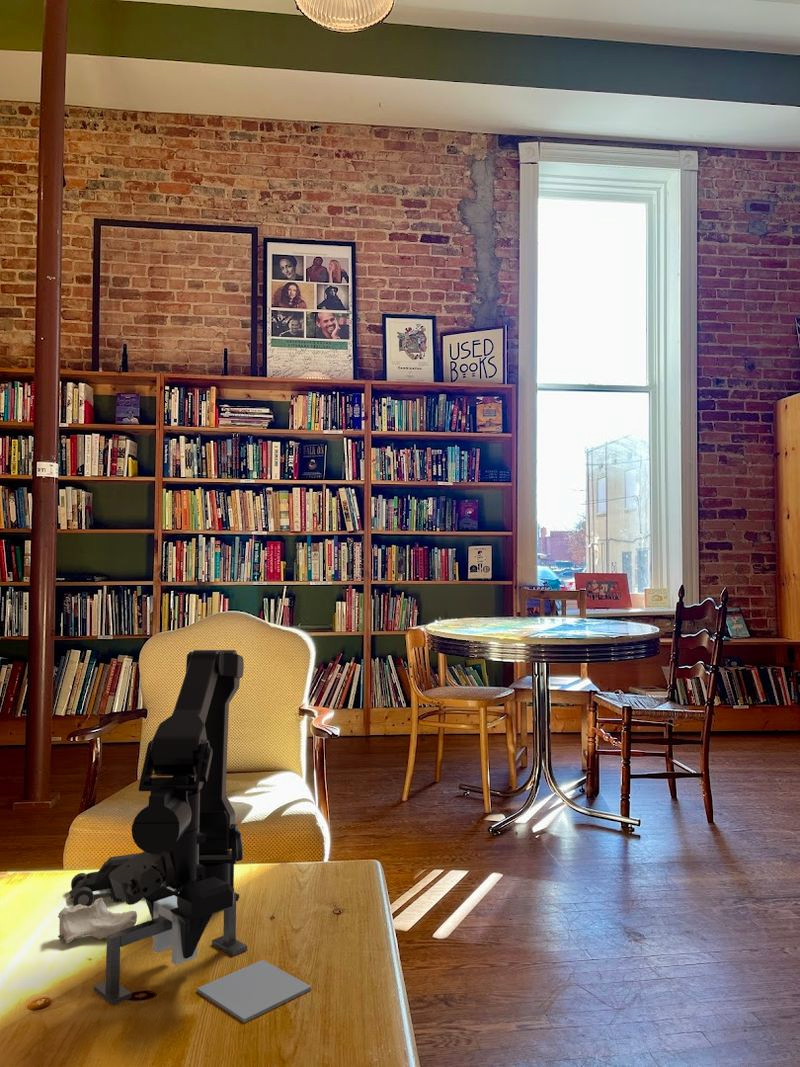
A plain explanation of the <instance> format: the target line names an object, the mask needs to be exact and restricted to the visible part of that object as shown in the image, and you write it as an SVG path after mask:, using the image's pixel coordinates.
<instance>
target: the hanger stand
mask: <svg viewBox="0 0 800 1067" xmlns="http://www.w3.org/2000/svg"><path fill="white" fill-rule="evenodd" d="M220 912H223V935H221V936H219V937H216V938H214V939H212V940H211V945H212V946H214V947H216V948H217V949H220V951H222V952H225V953H226V954H228V955H230V957H234V956H236V955H238V954H241V953H244V952H246V951H248V945H247V944H245V943H243V942H241V941H239V940H237V938H236V937H237V934H236V933H237V932H236V931H237V899H236V895H235V894H234V905H233V906H232V907H229V908H226V909H223V910H221V911H218V912H215V913H213V915H215V914H218V913H220ZM171 929H172V921H170V920H168V919H166V918H165V917H163V916H162V917H159V918H156V919H153V920H152V919H150V920H147V921H145V922H141V923H138V924H135V925H134V926H132V927H129V928H126V929H124V930H121V931H118V932H116V933H113V934H110V935H107V938H106V950H105V951H106V955H105V956H106V957H105V981H102V982H100V983H97V984H95V985H93V992H94V993H96V994H97V995H98V996H100V997H101V998H102V999H103V1000H105V1001H106V1002H107V1003H108V1004H110V1005H111V1006H116V1005H119V1004H120V1003H122V1002H125V1001H127V1000H130V999H132V992H131V991H130V990H128V989H127V988H126V987H124V986H123V985H122V984H121V983H120V980H121V979H120V978H121V976H120V974H121V948H123V947H125V946H129V945H131V944H134V943H137V942H140V941H143V940H145V939H148V938H152V937H153V936H154V935H157V934H159V933H162V932H165V931H168V930H171Z"/></svg>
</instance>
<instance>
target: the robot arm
mask: <svg viewBox="0 0 800 1067" xmlns="http://www.w3.org/2000/svg"><path fill="white" fill-rule="evenodd" d="M185 662H186V664H185V675H184V678H183V682H182V684H181V687H180V690H179V693H178V697H177V700H176V702H175V705H174V709H173V712H172V713H171V715H170V716H169V717H167V718H166V719H165V720H163V721H161V722H160V723H159V724H158V727H157V728H156V731H155V733H154V735H153V738H152V739H151V740H150V741H149V742H148V744H147V747H146V753H145V756H144V761H143V766H142V771H141V776H140V781H139V785H138V792H150V795H149V797H148V803H147V804H146V805H145V806H144V807H143V808H141V810H140V811H139V812H138V813H137V814H136V816H135V817H134V819H133V822H132V825H131V837H132V839H133V841H134V843H135V844H136V846H137V847H138V848H139V849H140V850H141V851H142V852H140V853H141V854H139V855H136V856H134V857H132V858H129V859H128V860H127V861H126V862H125V863H123V864H122V865H120V866H119V867H117V868H116V869H114V870H113V871H112V872H111V873H110V874H109V878H110V881H111V884H112V887H113V889H114V892H115V895H116V898H118V899H119V898H120V899H121V900H123V902H125V904H127V905H130V906H131V905H133V906H134V905H135V904H138V903H139V902H140V901H142V900H143V899H144V901H145V902H146V905H147V908H148V911H149V914H150V917H151V920H153V909H154V902H155V901H158V900H161V899H164V898H167V897H170V896H173V895H174V896H176V897H177V906H178V907H177V908H175V909H172V910H170V911H171V912H172V913H173V914H174V915H175V916H176V917H178V918H179V920H180V929H181V942H182V951H183V957H184V958H185V959H187V958H189V957H191V956H192V955H193V953H194V951H195V949H196V947H197V948H198V944H199V942H200V941H201V938H202V936H203V934H204V931H205V929H206V927H207V926H208V923H209V922H210V920H211V918H212V916H213V915H214V914H213V913H215V912H218V911H221V910H223V909H226V908H229V907H232V906H233V905H234V894H235V895H236V900H238V899H240V894H239V893H237V892H235V886H234V884H235V883H234V882H235V874H234V873H235V865H236V864H237V862H241V861H243V859H244V845H243V844H244V843H243V838H242V837H243V836H242V833H241V832H240V830H239V826H238V823H236V810H235V809H234V807H233V806H232V804H231V802H230V801H229V799H228V797H227V794H226V793H227V769H228V768H227V766H228V765H227V764H228V761H227V760H228V744H229V742H228V740H229V739H228V738H229V716H230V715H229V711H230V710H229V709H230V703H231V701H232V699H233V698H234V697H235V695H236V693H237V691H238V690H239V689H240V682H241V680H240V679H242V678H243V676H244V668H245V663H244V657H243V656H242V655H240V654H238V653H237V651H236V649H194V650H193V651H188V654H186V661H185ZM153 773H154V775H155V776H156V777H155V776H152V775H153ZM221 912H222V911H221ZM218 913H219V912H218ZM215 914H216V913H215Z"/></svg>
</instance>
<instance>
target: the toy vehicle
mask: <svg viewBox="0 0 800 1067" xmlns="http://www.w3.org/2000/svg"><path fill="white" fill-rule="evenodd" d="M141 853H142V852H137V853H129V854H124V855H123V854H122V855H115V856H110V857H109V858H108V859H107V860H106V861H104V862H103V864H102V866H101V867H100V868H99V870H97V871H92V872H89V873H85V872H81V873H77V874H75V875H74V876H73V878H72V879H71V882H70V889H71V890H70V891H69V899H70V900H72V903H73V907H74V906H76V905H79V904H81V905H83V906H91V905H92V904H93V903H94V901H95V900H94V898H95V895H94V892H98V891H103V890H104V891H105V890H106V891H107V890H109V896H110V899H111V900H112V902H114V903H122V902H124V901H123V900H121V899H120V898H119V899H118V898H116V895H115V892H114V889H113V887H112V884H111V881H110V878H109V874H110V873H111V872H112V871H113V870H114V869H116V868H117V867H119V866H120V865H122V864H123V863H125V862H126V861H127V860H128V859H129V858H132V857H134V856H136V855H139V854H141Z"/></svg>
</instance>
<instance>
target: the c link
mask: <svg viewBox="0 0 800 1067" xmlns="http://www.w3.org/2000/svg"><path fill="white" fill-rule="evenodd" d="M177 907H178V906H177V897H176V896H174V895H173V896H170V897H167V898H164V899H161V900H158V901H155V902H154V909H153V919H156V918H159V917H162V916H163V917H165V918H166V919H168V920H170V921H172V929H171V930H168V931H165V932H162V933H159V934H157V935H154V936H152V951H153V952H155V953H156V954H158V953H161V952H163V951H167V950H169V949H171V963H172V964H174V965H176V966H179V965H181V964H183V963H186V962H188V961H191V960H193V959H196V958H198V946H197V947H196V949H195V951H194V953H193V955H192V956H191V957H189V958H187V959H185V958H184V957H183V951H182V942H181V929H180V920H179V918H178V917H176V916H175V915H174V914H173V913H172V912H171V911H170V910H172V909H175V908H177Z"/></svg>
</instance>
